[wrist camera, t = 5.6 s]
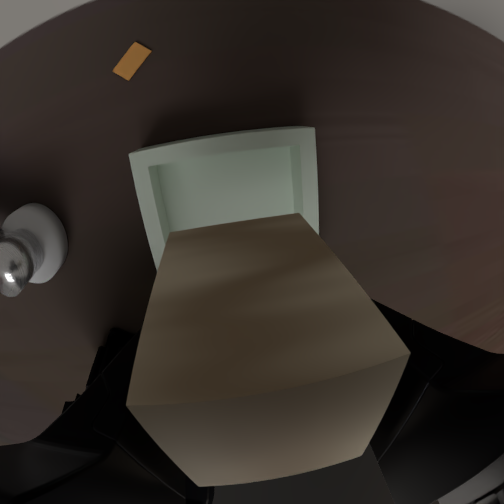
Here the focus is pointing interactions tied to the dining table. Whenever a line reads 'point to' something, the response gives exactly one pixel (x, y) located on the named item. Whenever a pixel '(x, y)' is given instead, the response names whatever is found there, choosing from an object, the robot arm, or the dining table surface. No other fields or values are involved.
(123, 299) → the dining table surface
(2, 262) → the crank
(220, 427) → the stop block
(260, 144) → the stop tray
